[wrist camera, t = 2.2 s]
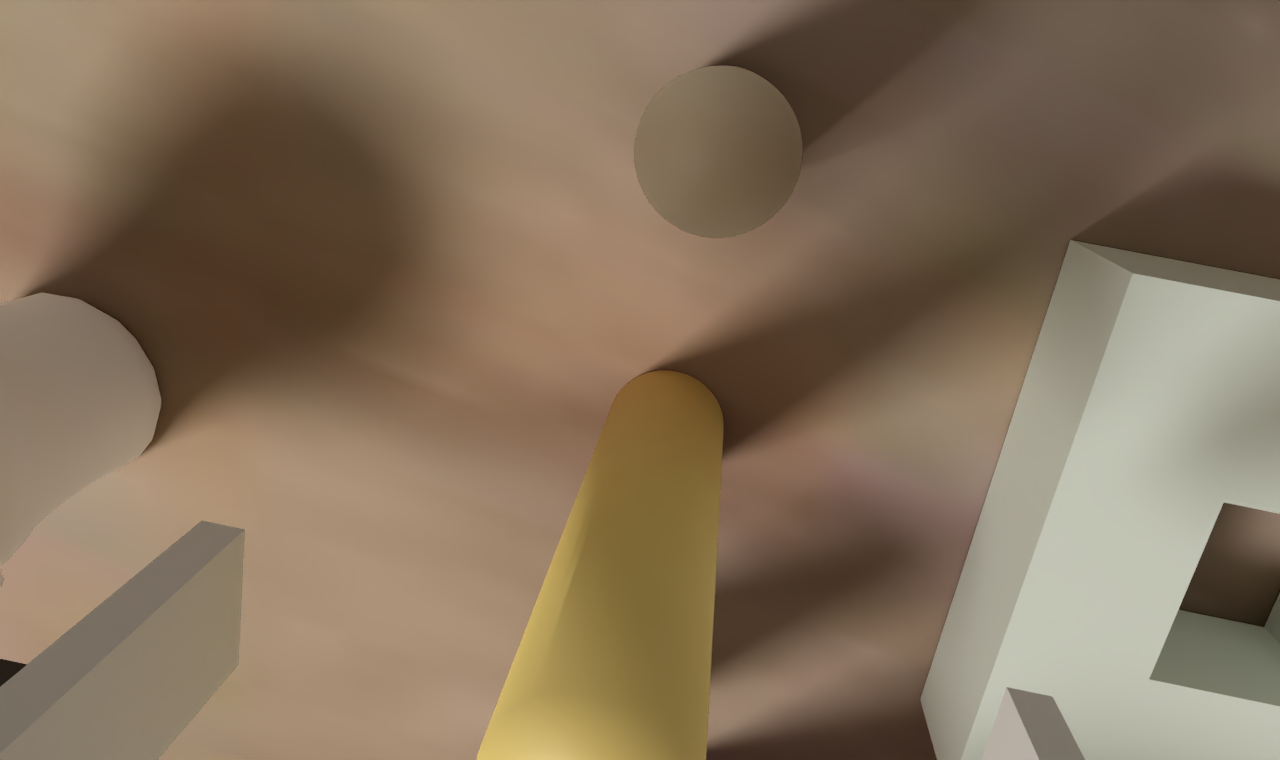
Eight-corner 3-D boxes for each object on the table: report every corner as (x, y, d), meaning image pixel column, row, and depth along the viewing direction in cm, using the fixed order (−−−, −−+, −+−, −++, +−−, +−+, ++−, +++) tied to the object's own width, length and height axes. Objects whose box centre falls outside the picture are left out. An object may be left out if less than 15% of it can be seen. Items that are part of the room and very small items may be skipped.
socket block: (1070, 240, 24) (1132, 273, 20) (1561, 332, 23) (1721, 384, 19) (920, 699, 28) (947, 797, 24) (1326, 784, 28) (1419, 898, 24)
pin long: (619, 360, 26) (488, 669, 13) (734, 382, 26) (724, 719, 12) (600, 465, 27) (462, 852, 14) (711, 487, 27) (679, 900, 14)
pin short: (672, 54, 23) (649, 51, 18) (801, 78, 23) (820, 82, 17) (649, 184, 24) (621, 221, 19) (772, 207, 24) (781, 251, 18)
